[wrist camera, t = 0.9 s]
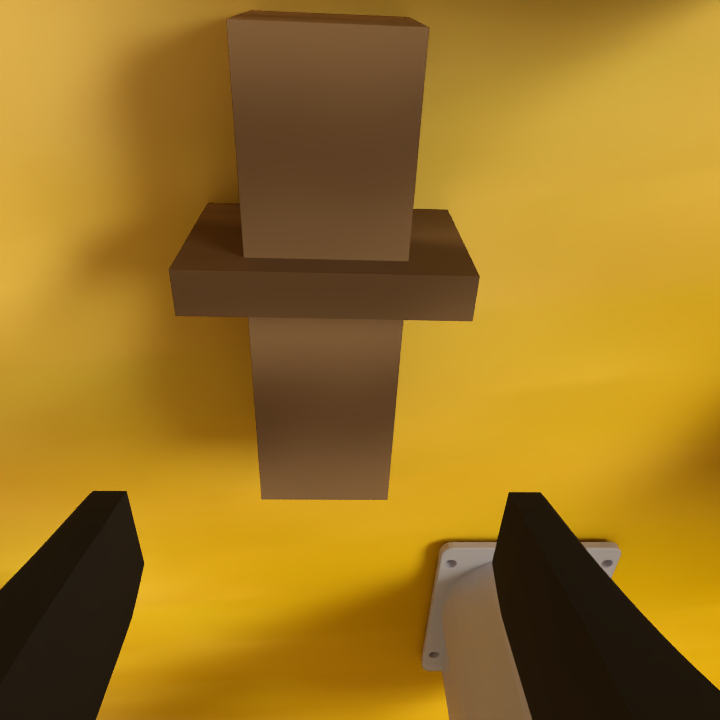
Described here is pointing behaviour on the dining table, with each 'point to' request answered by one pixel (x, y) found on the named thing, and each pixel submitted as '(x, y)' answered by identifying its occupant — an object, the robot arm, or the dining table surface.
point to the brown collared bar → (325, 242)
